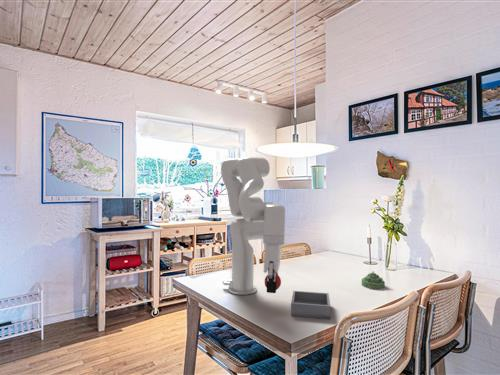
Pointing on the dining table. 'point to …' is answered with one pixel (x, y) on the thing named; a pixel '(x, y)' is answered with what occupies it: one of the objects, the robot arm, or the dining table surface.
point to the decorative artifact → (373, 281)
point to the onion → (278, 280)
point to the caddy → (310, 305)
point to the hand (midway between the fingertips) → (272, 288)
